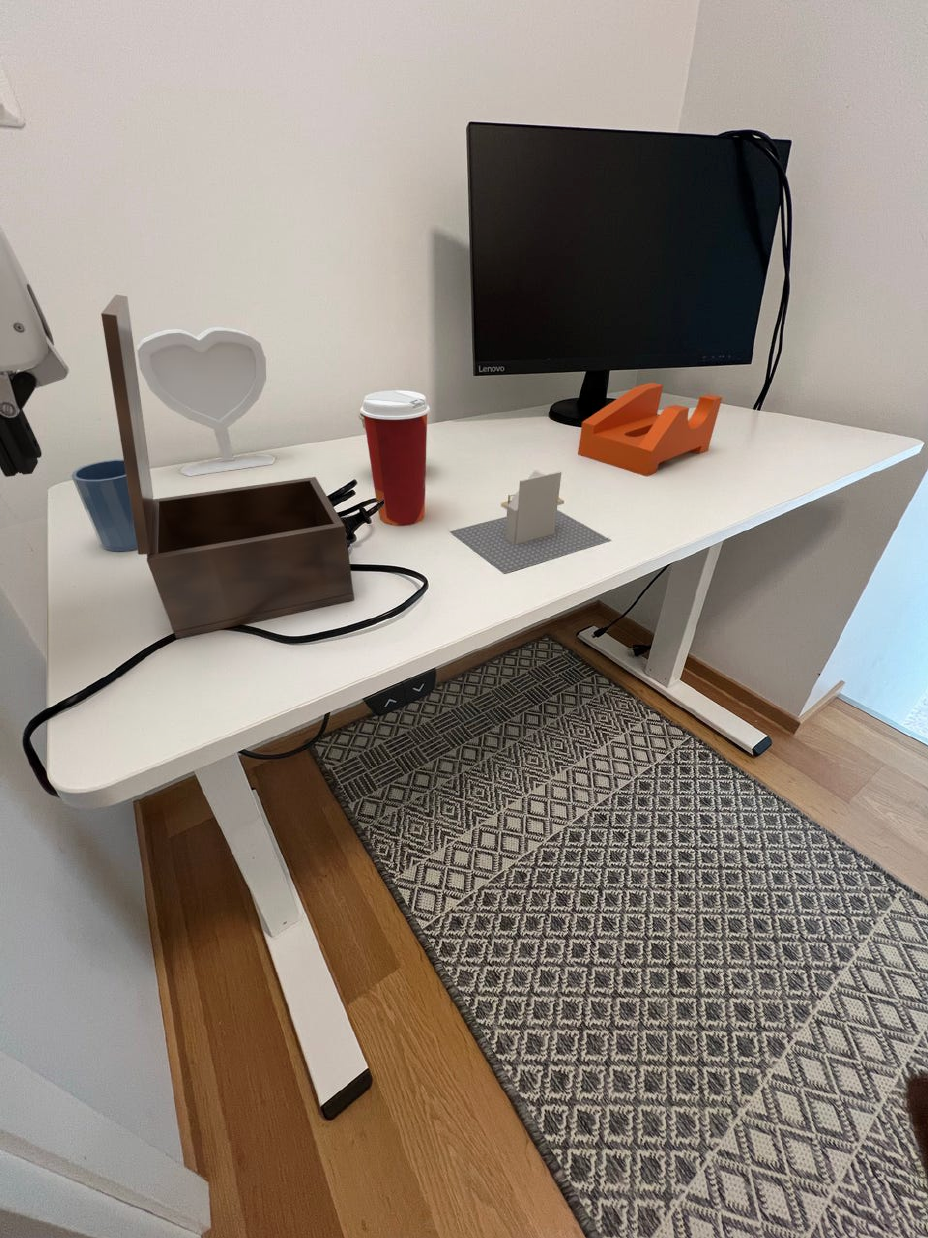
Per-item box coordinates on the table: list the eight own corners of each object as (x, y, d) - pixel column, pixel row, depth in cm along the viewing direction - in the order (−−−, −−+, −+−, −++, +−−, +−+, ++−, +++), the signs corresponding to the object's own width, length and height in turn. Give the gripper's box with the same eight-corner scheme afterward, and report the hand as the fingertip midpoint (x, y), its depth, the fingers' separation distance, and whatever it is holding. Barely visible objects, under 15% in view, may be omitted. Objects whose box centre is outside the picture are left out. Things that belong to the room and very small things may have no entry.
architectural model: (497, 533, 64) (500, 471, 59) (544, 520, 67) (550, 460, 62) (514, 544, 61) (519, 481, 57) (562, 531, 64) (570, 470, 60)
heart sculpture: (173, 478, 76) (129, 335, 66) (171, 467, 80) (129, 330, 70) (285, 462, 82) (261, 328, 72) (278, 452, 86) (254, 323, 76)
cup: (98, 556, 58) (67, 484, 54) (103, 531, 63) (75, 463, 58) (164, 545, 60) (140, 475, 56) (164, 522, 65) (142, 456, 60)
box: (325, 543, 61) (315, 476, 57) (354, 600, 52) (344, 525, 47) (174, 570, 56) (149, 499, 51) (176, 639, 47) (146, 559, 42)
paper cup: (444, 512, 68) (443, 394, 60) (407, 535, 63) (400, 410, 55) (395, 498, 72) (388, 385, 63) (356, 519, 66) (342, 399, 58)
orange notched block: (641, 432, 97) (651, 382, 92) (707, 450, 89) (722, 396, 84) (577, 453, 87) (585, 399, 82) (646, 476, 79) (659, 417, 74)
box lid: (127, 296, 43) (115, 294, 42) (116, 314, 33) (101, 312, 33) (153, 495, 51) (143, 494, 51) (150, 554, 42) (138, 554, 42)
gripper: (-376, 132, 25) (-123, 505, 36) (10, 147, 30) (130, 471, 41) (-277, 150, 31) (-84, 467, 41) (35, 160, 35) (135, 442, 46)
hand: (22, 468), depth 41 cm, fingers closed
